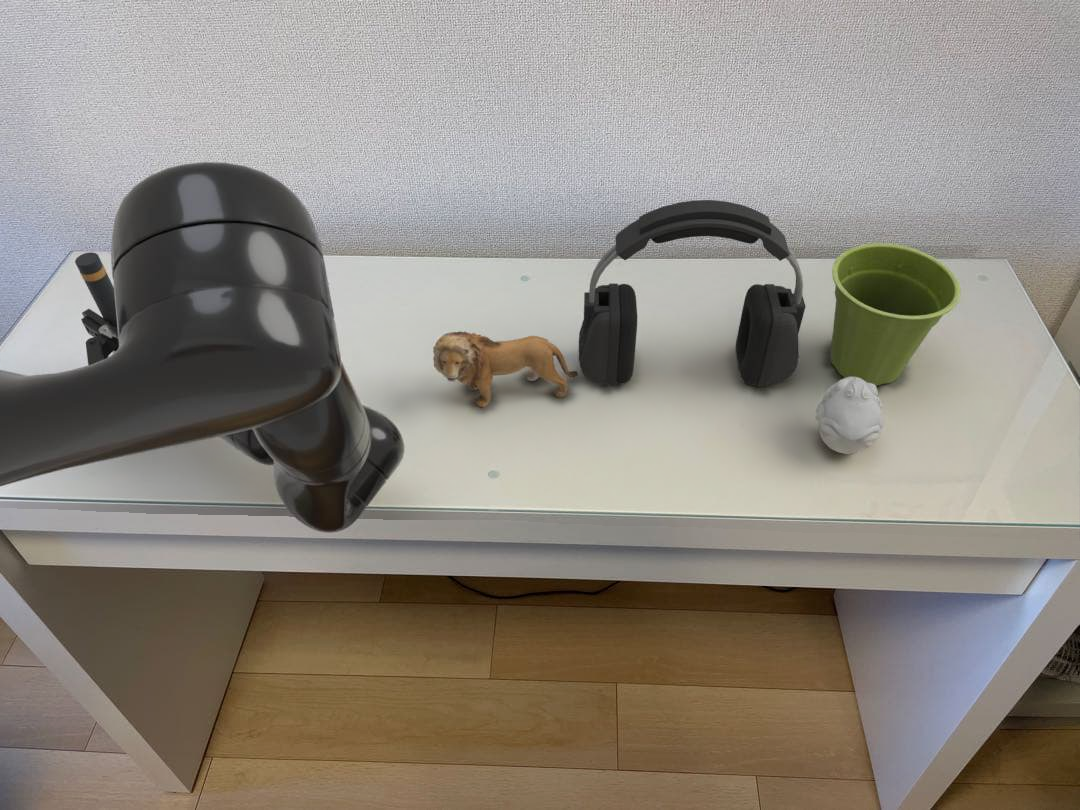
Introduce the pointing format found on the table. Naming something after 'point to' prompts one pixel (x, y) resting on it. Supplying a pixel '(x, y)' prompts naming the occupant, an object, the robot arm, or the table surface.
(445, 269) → the table surface
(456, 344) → the lion figurine
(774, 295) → the headphones
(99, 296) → the marker pen
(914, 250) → the plant pot
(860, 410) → the frog figurine
